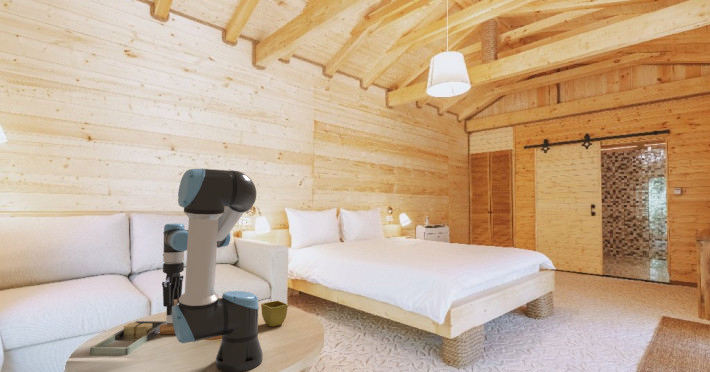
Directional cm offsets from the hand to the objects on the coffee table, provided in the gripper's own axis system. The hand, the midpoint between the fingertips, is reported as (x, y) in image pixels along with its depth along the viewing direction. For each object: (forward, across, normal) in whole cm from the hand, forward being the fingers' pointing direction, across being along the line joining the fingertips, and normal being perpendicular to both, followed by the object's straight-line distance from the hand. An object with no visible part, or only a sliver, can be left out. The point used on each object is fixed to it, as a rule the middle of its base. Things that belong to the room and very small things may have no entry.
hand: (172, 321), depth 148 cm
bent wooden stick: (+5, 0, 0) cm, 5 cm away
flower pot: (+6, -14, +38) cm, 41 cm away
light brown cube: (+5, +2, -10) cm, 11 cm away
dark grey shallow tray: (+6, 0, -12) cm, 14 cm away
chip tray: (+6, +14, -12) cm, 19 cm away
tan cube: (+5, +2, -15) cm, 16 cm away
